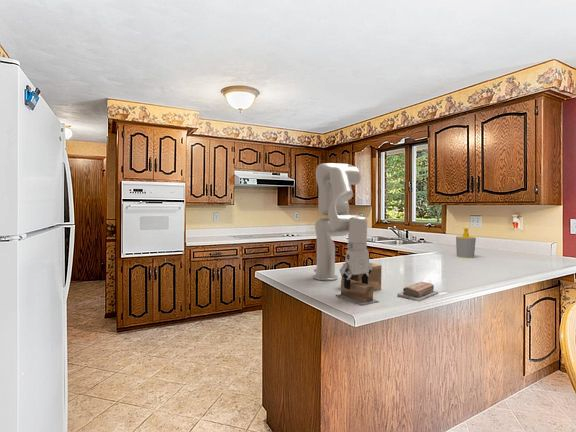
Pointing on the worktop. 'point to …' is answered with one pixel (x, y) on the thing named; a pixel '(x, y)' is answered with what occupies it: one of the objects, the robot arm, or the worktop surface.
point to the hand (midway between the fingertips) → (356, 287)
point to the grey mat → (356, 300)
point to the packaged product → (418, 291)
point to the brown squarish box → (370, 277)
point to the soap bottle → (465, 245)
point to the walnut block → (358, 291)
